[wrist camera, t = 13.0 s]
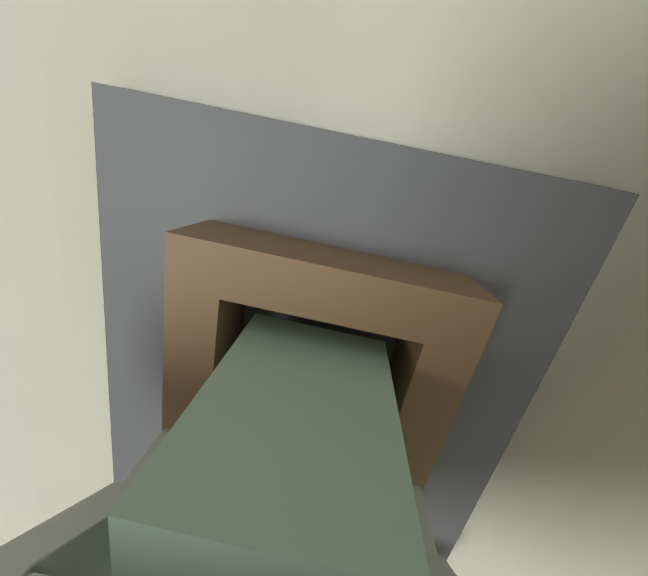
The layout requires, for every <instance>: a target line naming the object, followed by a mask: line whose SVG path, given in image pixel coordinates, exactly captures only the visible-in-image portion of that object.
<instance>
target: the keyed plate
mask: <svg viewBox="0 0 648 576" xmlns="http://www.w3.org/2000/svg"><path fill="white" fill-rule="evenodd" d="M91 83H92V100H93V118H94V136H95V153H96V171H97V189H98V207H99V224H100V242H101V260H102V278H103V295H104V313H105V331H106V349H107V366H108V384H109V402H110V420H111V437H112V455H113V473H114V482H122V481H123V480H124V478H125V477H126V476H127V474H128V473H129V472H130V470H131V469H132V468H133V467H134V465H135V464H136V463H137V461H138V460H139V459H140V457H141V456H142V455H143V454H144V452H145V451H146V450H147V448H148V447H149V446H150V444H151V443H152V442H153V441H154V439H155V438H156V437H157V435H158V434H159V433H160V432H161V431H163V430H164V429H165V428H166V429H170V430H171V428H172V427H173V426H174V424H175V423H176V422H177V420H178V419H179V417H180V416H181V415H182V413H183V412H184V411H185V409H186V408H187V406H188V405H189V404H190V402H191V401H192V400H193V398H194V397H195V396H196V394H197V393H198V391H199V390H200V389H201V387H202V386H203V385H204V383H205V382H206V380H207V379H208V378H209V376H210V375H211V374H212V372H213V371H214V370H215V368H216V367H217V365H218V364H219V363H220V361H221V360H222V359H223V357H224V356H225V354H226V353H227V352H228V350H229V349H230V348H231V346H232V345H233V344H234V342H235V341H236V339H237V338H238V337H239V335H240V334H241V333H242V331H243V330H244V328H245V327H246V326H247V324H248V323H249V322H250V320H251V319H252V317H253V316H254V315H255V313H257V314H261V315H266V316H270V317H275V318H280V319H284V320H289V321H293V322H298V323H302V324H307V325H311V326H316V327H320V328H325V329H330V330H334V331H339V332H343V333H348V334H352V335H357V336H361V337H366V338H370V339H375V340H380V341H384V342H385V345H386V350H387V355H388V360H389V365H390V371H391V376H392V381H393V386H394V391H395V397H396V402H397V407H398V412H399V417H400V423H401V428H402V433H403V438H404V443H405V449H406V454H407V459H408V464H409V469H410V475H411V480H412V485H416V486H420V487H421V489H422V490H423V494H424V499H425V503H426V507H427V512H428V516H429V520H430V525H431V529H432V533H433V538H434V542H435V547H436V551H437V555H438V556H441V557H444V558H445V560H447V559H448V557H449V555H450V553H451V551H452V549H453V547H454V545H455V543H456V541H457V540H458V538H459V536H460V534H461V532H462V530H463V528H464V526H465V524H466V523H467V521H468V519H469V517H470V515H471V513H472V511H473V509H474V507H475V505H476V504H477V502H478V500H479V498H480V496H481V494H482V492H483V490H484V488H485V487H486V485H487V483H488V481H489V479H490V477H491V475H492V473H493V471H494V469H495V468H496V466H497V464H498V462H499V460H500V458H501V456H502V454H503V452H504V451H505V449H506V447H507V445H508V443H509V441H510V439H511V437H512V435H513V433H514V432H515V430H516V428H517V426H518V424H519V422H520V420H521V418H522V416H523V415H524V413H525V411H526V409H527V407H528V405H529V403H530V401H531V399H532V397H533V396H534V394H535V392H536V390H537V388H538V386H539V384H540V382H541V380H542V379H543V377H544V375H545V373H546V371H547V369H548V367H549V365H550V363H551V361H552V360H553V358H554V356H555V354H556V352H557V350H558V348H559V346H560V344H561V342H562V341H563V339H564V337H565V335H566V333H567V331H568V329H569V327H570V325H571V324H572V322H573V320H574V318H575V316H576V314H577V312H578V310H579V308H580V306H581V305H582V303H583V301H584V299H585V297H586V295H587V293H588V291H589V289H590V288H591V286H592V284H593V282H594V280H595V278H596V276H597V274H598V272H599V270H600V269H601V267H602V265H603V263H604V261H605V259H606V257H607V255H608V253H609V252H610V250H611V248H612V246H613V244H614V242H615V240H616V238H617V236H618V234H619V233H620V231H621V229H622V227H623V225H624V223H625V221H626V219H627V217H628V216H629V214H630V212H631V210H632V208H633V206H634V204H635V202H636V200H637V198H638V197H639V195H640V194H635V193H630V192H625V191H620V190H616V189H611V188H606V187H601V186H596V185H591V184H586V183H582V182H577V181H572V180H567V179H562V178H557V177H552V176H548V175H543V174H538V173H533V172H528V171H523V170H518V169H513V168H509V167H504V166H499V165H494V164H489V163H484V162H479V161H475V160H470V159H465V158H460V157H455V156H450V155H445V154H441V153H436V152H431V151H426V150H421V149H416V148H411V147H407V146H402V145H397V144H392V143H387V142H382V141H377V140H372V139H368V138H363V137H358V136H353V135H348V134H343V133H338V132H334V131H329V130H324V129H319V128H314V127H309V126H304V125H300V124H295V123H290V122H285V121H280V120H275V119H270V118H266V117H261V116H256V115H251V114H246V113H241V112H236V111H232V110H227V109H222V108H217V107H212V106H207V105H202V104H197V103H193V102H188V101H183V100H178V99H173V98H168V97H163V96H159V95H154V94H149V93H144V92H139V91H134V90H129V89H125V88H120V87H115V86H110V85H105V84H100V83H95V82H91Z"/></svg>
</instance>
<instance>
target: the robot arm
mask: <svg viewBox="0 0 648 576" xmlns="http://www.w3.org/2000/svg"><path fill="white" fill-rule="evenodd" d="M169 431H170V429H166V428H165V429H164V430H163V431H161V432H160V433H159V434H158V435H157V437H156V438H155V439H154V441H153V442H152V443H151V444H150V446H149V447H148V448H147V450H146V451H145V452H144V454H143V455H142V456H141V457H140V459H139V460H138V461H137V463H136V464H135V465H134V467H133V468H132V469H131V470H130V472H129V473H128V474H127V476H126V477H125V478H124V480H123V481H122V482H113V483H112V484H110V485H108V486H106V487H105V488H103V489H101V490H99V491H98V492H96V493H94V494H92V495H91V496H89V497H87V498H85V499H83V500H82V501H80V502H78V503H76V504H75V505H73V506H71V507H69V508H68V509H66V510H64V511H62V512H61V513H59V514H57V515H55V516H53V517H52V518H50V519H48V520H46V521H45V522H43V523H41V524H39V525H38V526H36V527H34V528H32V529H31V530H29V531H27V532H25V533H24V534H22V535H20V536H18V537H16V538H15V539H13V540H11V541H9V542H8V543H6V544H4V545H2V546H1V547H0V576H112V571H111V557H110V543H109V528H108V515H109V513H110V512H111V511H112V509H113V508H114V506H115V505H116V504H117V502H118V501H119V500H120V498H121V497H122V495H123V494H124V493H125V491H126V490H127V489H128V487H129V486H130V485H131V483H132V482H133V480H134V479H135V478H136V476H137V475H138V474H139V472H140V471H141V469H142V468H143V467H144V465H145V464H146V463H147V461H148V460H149V459H150V457H151V456H152V454H153V453H154V452H155V450H156V449H157V448H158V446H159V445H160V443H161V442H162V441H163V439H164V438H165V437H166V435H167V434H168V433H169ZM413 490H414V495H415V501H416V506H417V511H418V516H419V521H420V527H421V532H422V537H423V542H424V547H425V553H426V558H427V563H428V568H429V573H430V576H457V575H456V574H455V573H454V571H453V570H452V568H451V567H450V566H449V564H448V563H447V561H446V560H445V558H444V557H441V556H438V555H437V551H436V547H435V542H434V538H433V533H432V529H431V525H430V520H429V516H428V512H427V507H426V503H425V499H424V494H423V490H422V489H421V487H420V486H416V485H413Z"/></svg>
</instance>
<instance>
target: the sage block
mask: <svg viewBox="0 0 648 576" xmlns="http://www.w3.org/2000/svg"><path fill="white" fill-rule="evenodd" d="M108 528H109V543H110V557H111V571H112V576H430V573H429V568H428V563H427V558H426V553H425V547H424V542H423V537H422V532H421V527H420V521H419V516H418V511H417V506H416V501H415V495H414V490H413V485H412V480H411V475H410V469H409V464H408V459H407V454H406V449H405V443H404V438H403V433H402V428H401V423H400V417H399V412H398V407H397V402H396V397H395V391H394V386H393V381H392V376H391V371H390V365H389V360H388V355H387V350H386V345H385V342H384V341H380V340H375V339H370V338H366V337H361V336H357V335H352V334H348V333H343V332H339V331H334V330H330V329H325V328H320V327H316V326H311V325H307V324H302V323H298V322H293V321H289V320H284V319H280V318H275V317H270V316H266V315H261V314H257V313H255V315H254V316H253V317H252V319H251V320H250V322H249V323H248V324H247V326H246V327H245V328H244V330H243V331H242V333H241V334H240V335H239V337H238V338H237V339H236V341H235V342H234V344H233V345H232V346H231V348H230V349H229V350H228V352H227V353H226V354H225V356H224V357H223V359H222V360H221V361H220V363H219V364H218V365H217V367H216V368H215V370H214V371H213V372H212V374H211V375H210V376H209V378H208V379H207V380H206V382H205V383H204V385H203V386H202V387H201V389H200V390H199V391H198V393H197V394H196V396H195V397H194V398H193V400H192V401H191V402H190V404H189V405H188V406H187V408H186V409H185V411H184V412H183V413H182V415H181V416H180V417H179V419H178V420H177V422H176V423H175V424H174V426H173V427H172V428H171V430H170V431H169V433H168V434H167V435H166V437H165V438H164V439H163V441H162V442H161V443H160V445H159V446H158V448H157V449H156V450H155V452H154V453H153V454H152V456H151V457H150V459H149V460H148V461H147V463H146V464H145V465H144V467H143V468H142V469H141V471H140V472H139V474H138V475H137V476H136V478H135V479H134V480H133V482H132V483H131V485H130V486H129V487H128V489H127V490H126V491H125V493H124V494H123V495H122V497H121V498H120V500H119V501H118V502H117V504H116V505H115V506H114V508H113V509H112V511H111V512H110V513H109V515H108Z"/></svg>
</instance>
